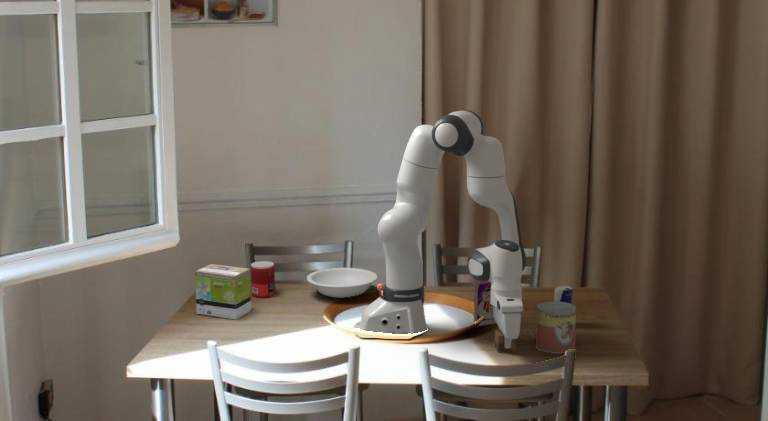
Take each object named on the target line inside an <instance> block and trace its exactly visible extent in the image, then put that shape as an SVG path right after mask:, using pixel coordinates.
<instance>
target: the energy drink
mask: <svg viewBox="0 0 768 421" xmlns="http://www.w3.org/2000/svg"><path fill="white" fill-rule="evenodd" d="M554 301H559V302H566V303H570V304H573V287H572V286H569V285H557V286H555V288H554Z"/></svg>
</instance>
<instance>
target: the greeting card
mask: <svg viewBox="0 0 768 421" xmlns="http://www.w3.org/2000/svg"><path fill="white" fill-rule="evenodd" d="M473 299H474V300H473V302H474V303H473V304H474V305H473V307H474V308H473V310H474V312H473V314H474V315H473V323H474V322H475V321H477V320H478V319H479V318H481V317H482V316H484V318H483V320H482V322H481V323H480V324H479V326H478V327H482V326H486V325H494V324H497V323H496V321H495V320H494V317H493V305H492V304H491V303H490V300H491V282H489V281H478V280H476V279H474V298H473Z"/></svg>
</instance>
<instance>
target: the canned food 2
mask: <svg viewBox="0 0 768 421" xmlns="http://www.w3.org/2000/svg"><path fill="white" fill-rule="evenodd" d="M576 320H577V306H576V305H574V304H573V303H572V304H570V303H566V302H559V301H555V300H553V301H544V302H540V303H537V305H536V330H535V332H536V335H535V336H536V337H535V340H536V341H535V348H537V350H539V351H541V352H543V353H544V352H545V353H549V354H550V353H551V354H565V353H564V352H565V351H566V350H568V349H573V348H575V349H576V325H577V323H576V322H577V321H576Z"/></svg>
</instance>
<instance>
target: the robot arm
mask: <svg viewBox="0 0 768 421" xmlns="http://www.w3.org/2000/svg"><path fill="white" fill-rule="evenodd" d="M484 128H485V126H484V122H483V120H482V118H481V116H479V114H477V113H476V112H475V111H472V110H467V109H462V110H457V111H452V112H450V113H448V114H446V115H443V116H441V117H439V119H437V120H436V122H435V123H434V124H433V125H432V124H421V125H418V126H416V127H415V128H414V130H412V133H411V135H410V137H409V140H408V141H407V143H406V147H405V150H404V153H403V157H402V160H401V163H400V166H399V170H398V174H397V178H396V186H397V188H396V198H395V203H394V205H393V207H392V208H391V209H390V210H387V211H386V212H385V213H384V214H383V215H382V217H381V218H380V220H379V222H378V224H377V233H378V234H377V235H378V237H379V239H380V240H381V242H382V248H383V252H384V258H385V284H382V283H378V284H377V286H376V288H377V290H378V291H379V293H378V294H379V297H377V299H375V300H374V301H372V302H371V303H369V304H368V305H367V306H365V307H364V309H363V311H362V314H361V318H360V321H358V322H356V323H355V324H354V326H353V329H354V328H360V329H362V330H365V331H373V332H383V333H392V334H408V333H411V334H413V333H418V332H422V331H425V330H427V327H428V323H427V321H426V316H425V307H424V303H425V298H426V297H425V294H426V293H425V292H426V291H425V286H424V281H423V280H424V279H423V277H424V276H423V275H424V273H423V272H424V270H423V269H424V268H423V267H424V265H423V263H424V262H423V258H422V256H421V254H420V250H419V249H420V248H419V244H418V243H419V242H418V241H419V239H418V238H419V235H420V234H422V233H424V232H425V230H426V229H427V227H428V225H429V222H430V219H431V218H430V216H431V214H430V212H431V206H432V200H433V199H432V197H433V192H434V187H435V184H436V180H437V177H438V174H439V173H438V172H439V169H440V166H441V162H442V159H443V156H444V154H445V153H448V154H453V155H455V156H457V157H463V156H464V158H465V161H466V188H467V193H468V195H469V197H470V198H471V199H472V200H473V201H474V202H475V203H476V204H478V205H480V206H483V207H486V208H489V209H491V210H493V211H495V212H496V213H497V216H498V219H499V225H500V227H499V228H500V232H501V238H502V239H500V240H496V241H495V242H493V243H492V244H491V245H488V246H484V247H479V248H476V249H473V250H471V252H470V253H469V255H468V258H467V263H466V264H467V270H468V273H469V275H470V276H471V277H472V278H473V279H474V280H475V279H476V280H478V281H489V282H491V300H490V303H491V304H492V305H493V317H494V320H495V321H496V323H495V324H497V326H498V330H501V331H502V333H503V334H504V337H505V341H504V347H505V348H506V349H510V348H511V342H512V339H516V340H517V339H518V338H519V337H520V332H521V322H522V321H521V320H522V312H524V303H523V295H522V294H523V293H522V292H523V286H522V281H521V280H522V275H523V272H524V270H525V268H526V265H527V255H526V250H525V248H524V245H523V241H522V233H521V227H520V226H521V225H520V220H519V219H520V218H519V211H518V206H517V202H516V197H515V194H514V193H513V192H511V191H510V190H509V187H508V184H507V178H506V160H505V155H504V149H503V145H502V143H501V141H500V140H499V139H498V138H495V137H493V136H490V135H483V134H484V130H485V129H484Z"/></svg>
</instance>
